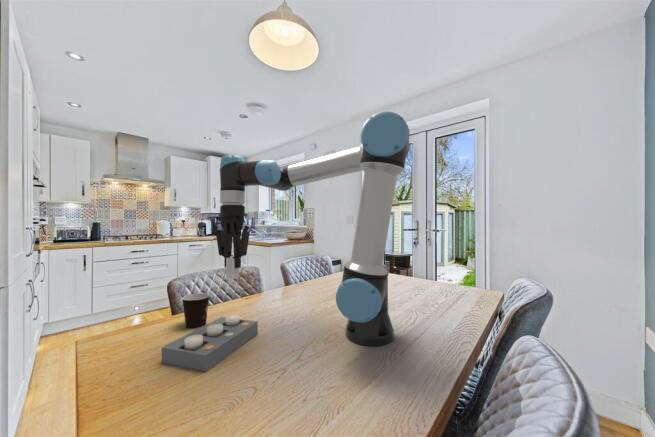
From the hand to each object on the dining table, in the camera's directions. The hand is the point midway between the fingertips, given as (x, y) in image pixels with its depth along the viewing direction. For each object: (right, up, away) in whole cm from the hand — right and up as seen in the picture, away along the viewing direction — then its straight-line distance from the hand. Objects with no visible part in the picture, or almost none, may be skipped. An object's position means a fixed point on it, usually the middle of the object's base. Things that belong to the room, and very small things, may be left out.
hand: (232, 277), depth 86 cm
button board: (-2, -18, -8) cm, 20 cm away
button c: (-5, -15, -15) cm, 22 cm away
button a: (0, -15, 0) cm, 15 cm away
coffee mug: (-16, -19, +10) cm, 26 cm away
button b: (-2, -15, -8) cm, 17 cm away
